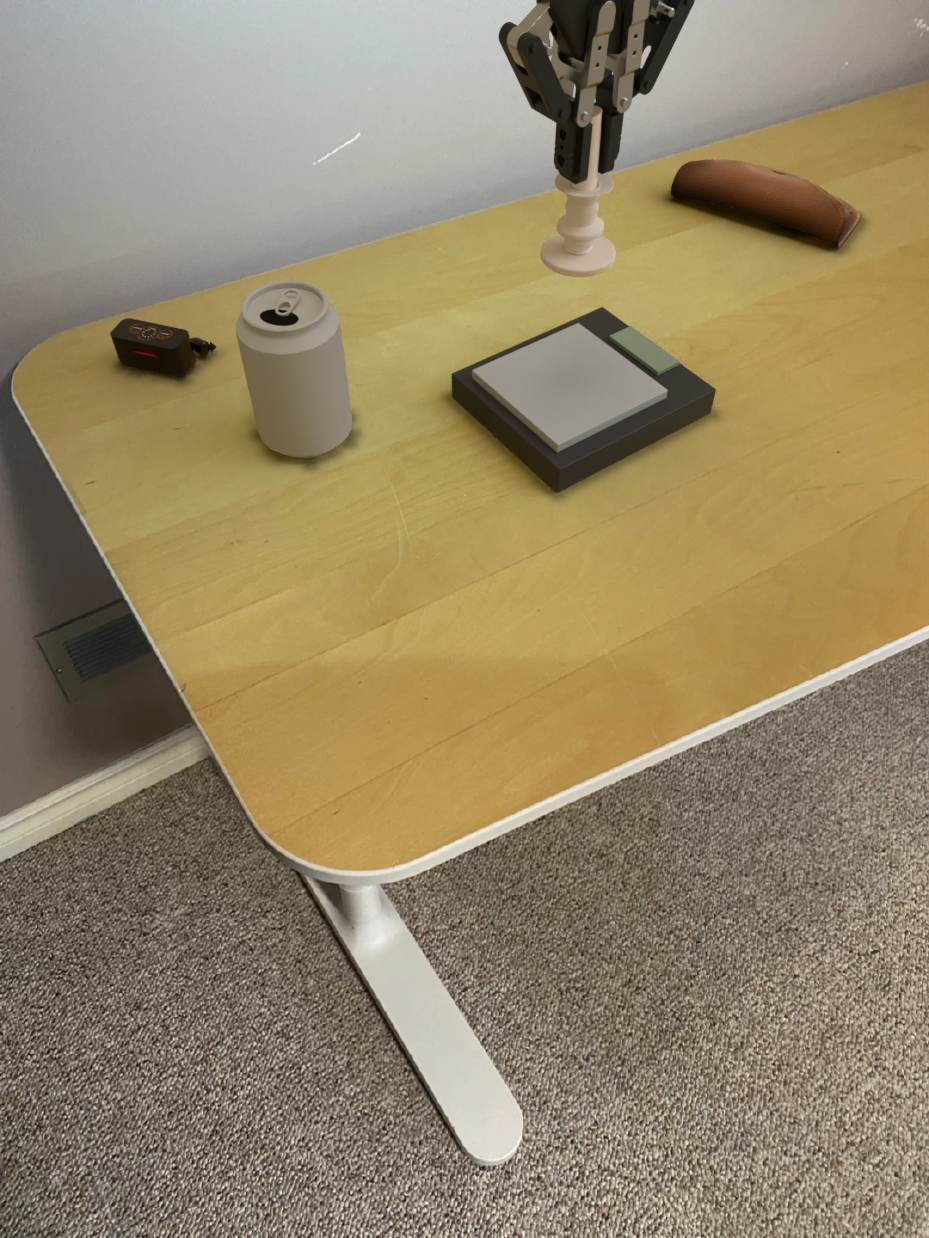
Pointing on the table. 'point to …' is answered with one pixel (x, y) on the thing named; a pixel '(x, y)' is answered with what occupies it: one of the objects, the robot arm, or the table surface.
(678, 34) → the robot arm
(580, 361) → the scale
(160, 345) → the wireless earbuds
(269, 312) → the can
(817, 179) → the table surface
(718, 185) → the sunglasses case
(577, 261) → the candle
